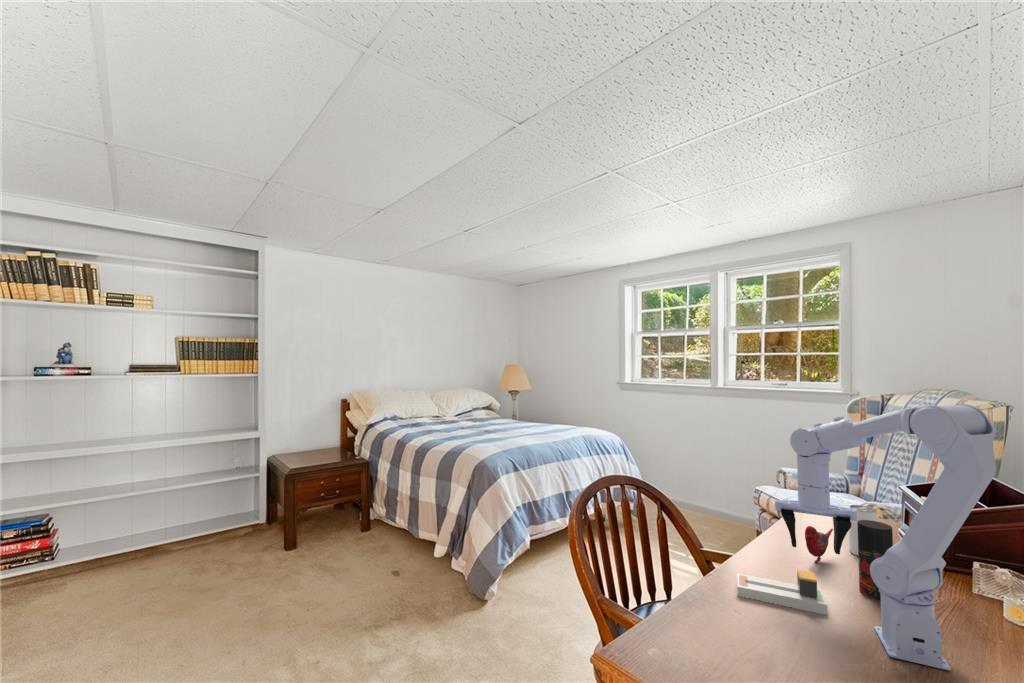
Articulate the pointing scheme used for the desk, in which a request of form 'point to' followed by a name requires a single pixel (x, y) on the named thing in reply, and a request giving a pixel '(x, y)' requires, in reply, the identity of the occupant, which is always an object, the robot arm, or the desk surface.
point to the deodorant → (871, 553)
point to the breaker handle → (807, 583)
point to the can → (862, 514)
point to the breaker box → (780, 593)
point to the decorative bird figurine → (816, 542)
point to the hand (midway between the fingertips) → (815, 548)
